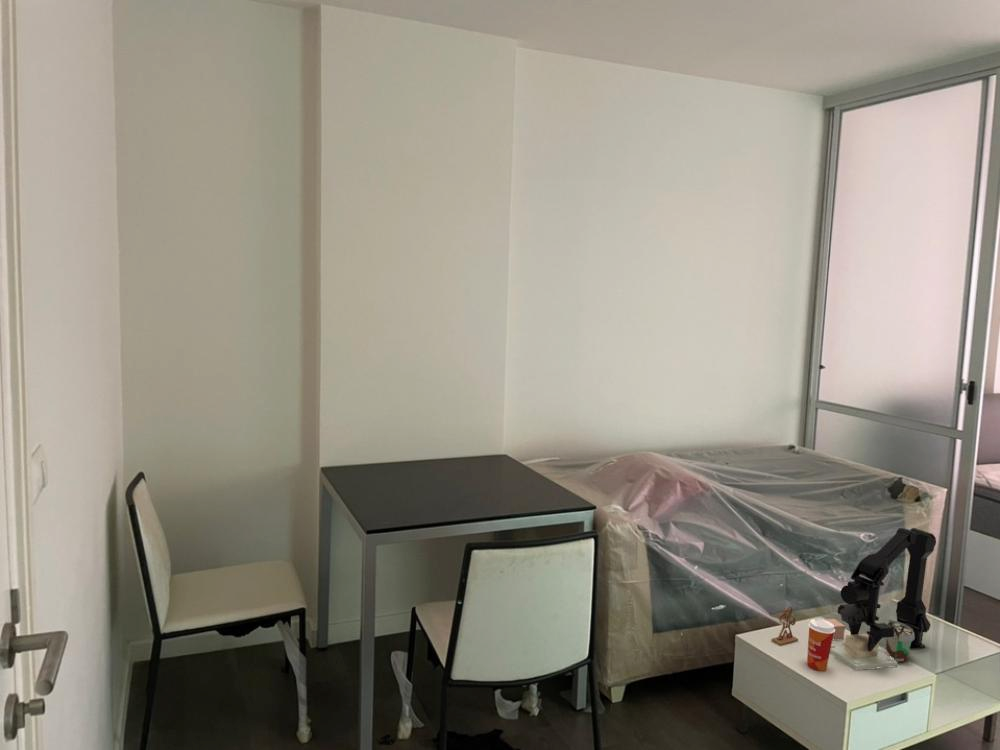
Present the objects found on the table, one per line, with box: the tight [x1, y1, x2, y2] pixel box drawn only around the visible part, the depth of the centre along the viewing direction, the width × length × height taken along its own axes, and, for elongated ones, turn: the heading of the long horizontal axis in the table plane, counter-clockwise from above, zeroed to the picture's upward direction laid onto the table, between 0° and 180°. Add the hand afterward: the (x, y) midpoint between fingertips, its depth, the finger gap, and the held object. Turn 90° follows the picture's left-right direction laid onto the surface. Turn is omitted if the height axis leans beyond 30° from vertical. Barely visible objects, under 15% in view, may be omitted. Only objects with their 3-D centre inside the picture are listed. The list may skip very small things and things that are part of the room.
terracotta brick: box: [822, 618, 846, 641], centre depth 260 cm, size 8×6×5 cm
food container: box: [885, 619, 915, 664], centre depth 248 cm, size 12×6×10 cm, turn 168°
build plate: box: [830, 642, 899, 671], centre depth 246 cm, size 16×14×2 cm
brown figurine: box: [770, 605, 799, 647], centre depth 254 cm, size 9×4×12 cm, turn 121°
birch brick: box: [844, 633, 880, 658], centre depth 246 cm, size 8×6×5 cm
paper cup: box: [806, 618, 835, 672], centre depth 237 cm, size 8×8×14 cm
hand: (861, 645), depth 246 cm, fingers open, 7 cm apart
